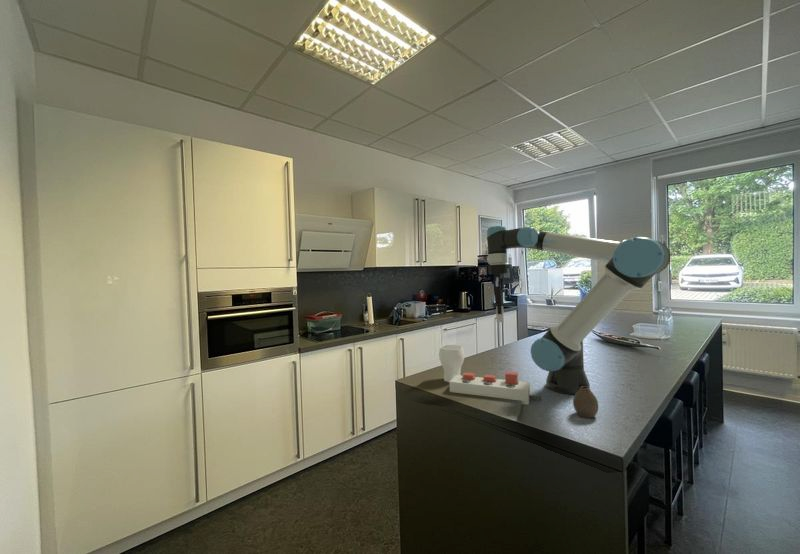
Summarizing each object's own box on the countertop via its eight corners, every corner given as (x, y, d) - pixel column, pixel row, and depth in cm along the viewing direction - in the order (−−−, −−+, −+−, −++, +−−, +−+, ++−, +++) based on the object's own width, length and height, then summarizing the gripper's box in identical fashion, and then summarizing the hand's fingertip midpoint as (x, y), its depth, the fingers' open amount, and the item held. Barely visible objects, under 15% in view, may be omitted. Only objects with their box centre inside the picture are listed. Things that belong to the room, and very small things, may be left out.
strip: (541, 397, 117) (541, 382, 117) (541, 406, 109) (540, 391, 109) (456, 387, 131) (455, 374, 131) (449, 394, 123) (449, 381, 123)
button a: (517, 381, 120) (517, 372, 120) (517, 384, 117) (516, 374, 117) (506, 380, 121) (506, 371, 121) (505, 383, 119) (505, 373, 119)
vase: (568, 411, 104) (567, 384, 104) (588, 409, 105) (587, 383, 105) (582, 420, 98) (581, 392, 98) (604, 419, 98) (603, 390, 98)
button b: (495, 384, 123) (495, 375, 123) (494, 387, 120) (494, 377, 120) (485, 383, 125) (485, 374, 125) (483, 385, 122) (483, 376, 122)
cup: (465, 386, 131) (463, 350, 131) (439, 386, 133) (437, 349, 133) (465, 378, 141) (464, 344, 141) (441, 378, 143) (439, 344, 143)
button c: (475, 382, 127) (474, 373, 127) (473, 384, 124) (472, 375, 124) (465, 381, 128) (464, 372, 128) (463, 383, 125) (462, 374, 125)
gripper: (490, 265, 139) (492, 319, 139) (486, 264, 127) (488, 324, 127) (508, 264, 136) (511, 319, 136) (505, 263, 124) (508, 324, 124)
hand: (500, 321), depth 131 cm, fingers closed
